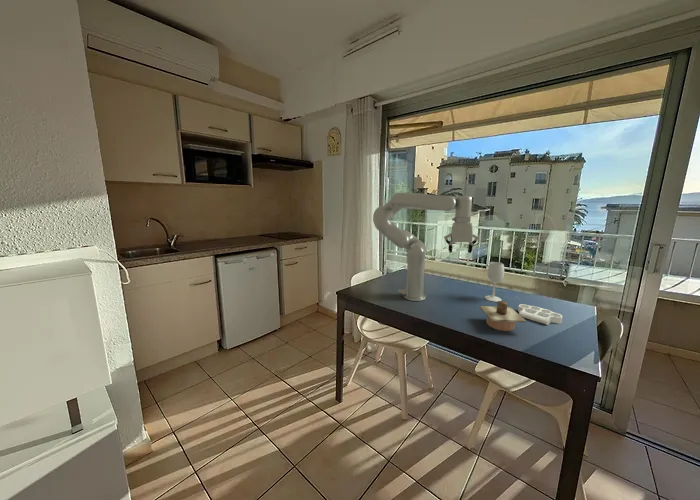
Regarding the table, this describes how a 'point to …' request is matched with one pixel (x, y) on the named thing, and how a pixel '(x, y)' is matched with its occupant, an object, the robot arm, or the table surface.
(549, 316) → the white compartment tray
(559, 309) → the table surface
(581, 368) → the table surface
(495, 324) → the bowl
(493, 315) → the lid
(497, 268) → the wineglass
